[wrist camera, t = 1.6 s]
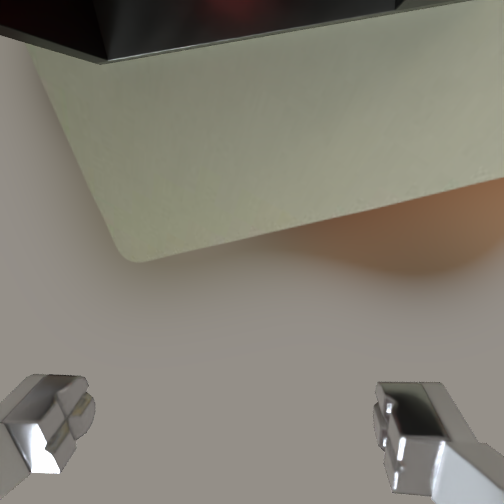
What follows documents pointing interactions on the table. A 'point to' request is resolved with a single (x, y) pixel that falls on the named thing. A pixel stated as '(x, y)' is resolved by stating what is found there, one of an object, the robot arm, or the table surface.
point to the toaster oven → (174, 22)
